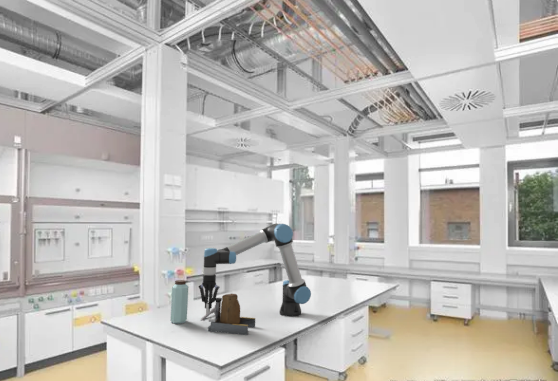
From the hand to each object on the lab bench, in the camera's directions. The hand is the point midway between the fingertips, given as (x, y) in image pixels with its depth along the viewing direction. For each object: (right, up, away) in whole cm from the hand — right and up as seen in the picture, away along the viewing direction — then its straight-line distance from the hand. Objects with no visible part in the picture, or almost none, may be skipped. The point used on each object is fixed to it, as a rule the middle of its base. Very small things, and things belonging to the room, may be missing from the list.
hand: (207, 314), depth 219 cm
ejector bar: (+6, -7, -2) cm, 9 cm away
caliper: (-3, -9, +21) cm, 24 cm away
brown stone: (+14, -8, -4) cm, 16 cm away
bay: (+16, -7, -4) cm, 18 cm away
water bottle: (-20, -8, +8) cm, 22 cm away
